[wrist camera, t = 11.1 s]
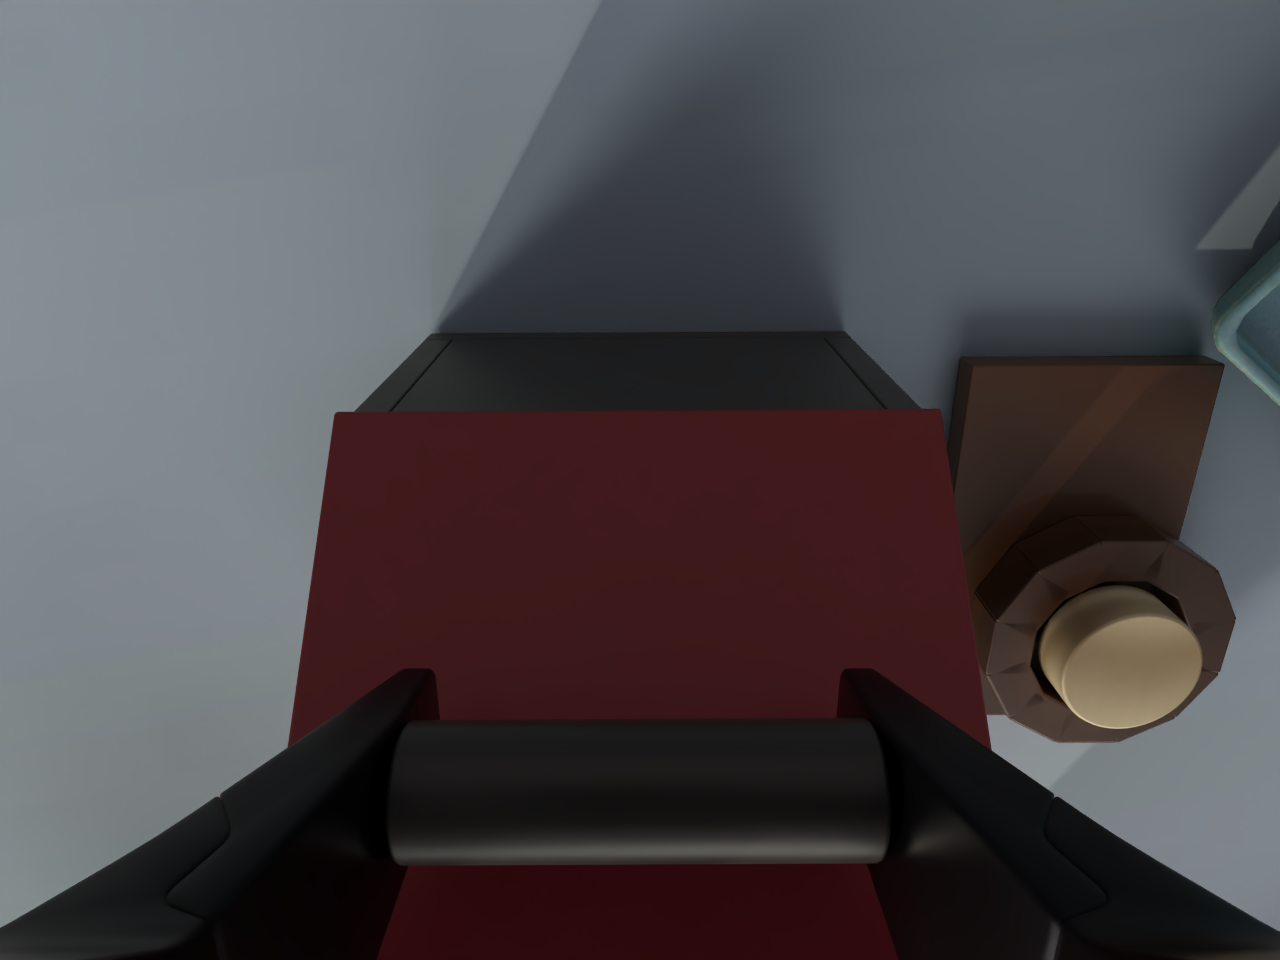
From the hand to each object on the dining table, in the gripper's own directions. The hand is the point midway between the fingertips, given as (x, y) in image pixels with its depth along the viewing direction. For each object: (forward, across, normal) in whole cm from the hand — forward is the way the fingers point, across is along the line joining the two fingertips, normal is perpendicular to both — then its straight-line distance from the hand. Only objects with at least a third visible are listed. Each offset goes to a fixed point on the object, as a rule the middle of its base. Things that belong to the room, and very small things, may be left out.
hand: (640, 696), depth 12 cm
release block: (+13, -12, +3) cm, 18 cm away
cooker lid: (+1, 0, +3) cm, 3 cm away
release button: (+11, -13, +5) cm, 18 cm away
